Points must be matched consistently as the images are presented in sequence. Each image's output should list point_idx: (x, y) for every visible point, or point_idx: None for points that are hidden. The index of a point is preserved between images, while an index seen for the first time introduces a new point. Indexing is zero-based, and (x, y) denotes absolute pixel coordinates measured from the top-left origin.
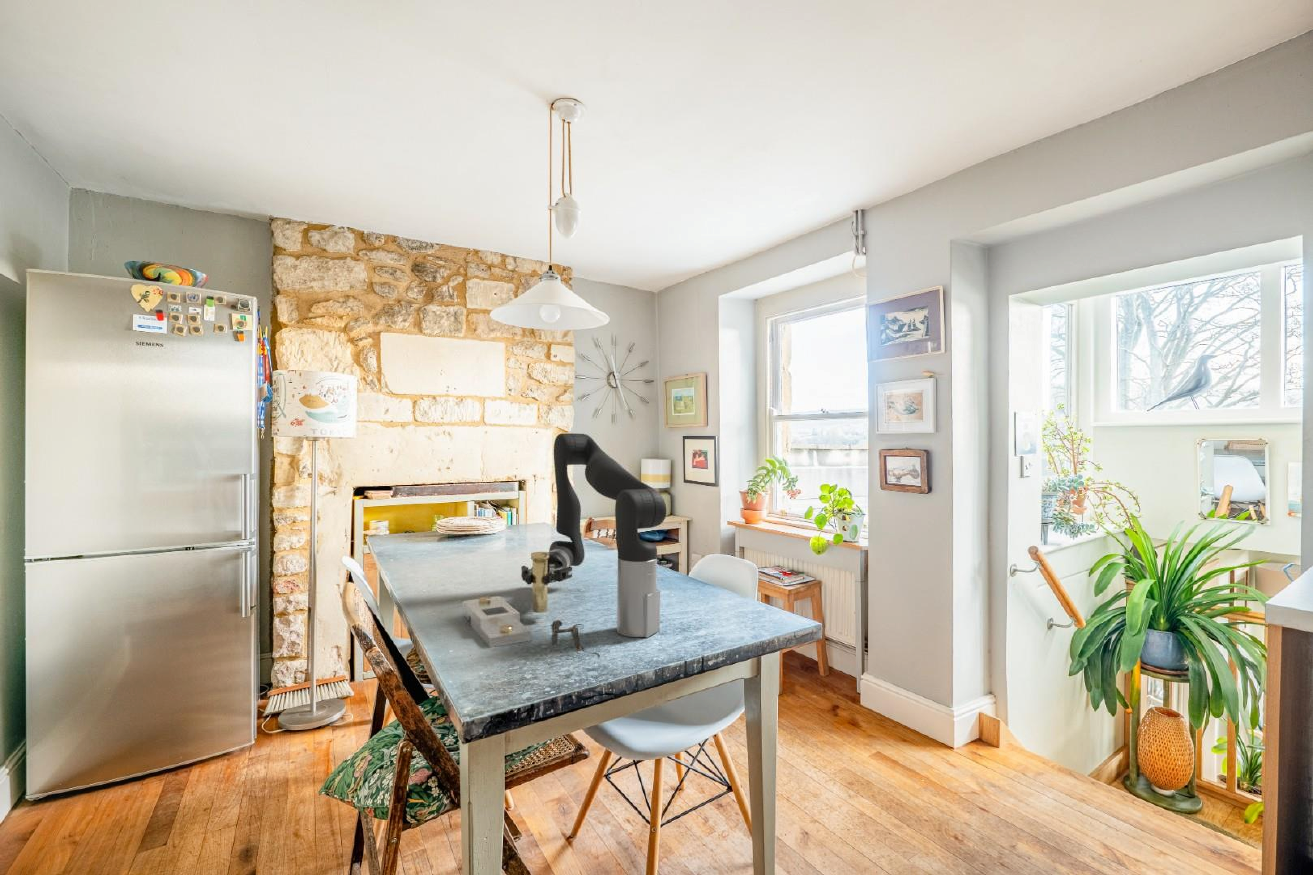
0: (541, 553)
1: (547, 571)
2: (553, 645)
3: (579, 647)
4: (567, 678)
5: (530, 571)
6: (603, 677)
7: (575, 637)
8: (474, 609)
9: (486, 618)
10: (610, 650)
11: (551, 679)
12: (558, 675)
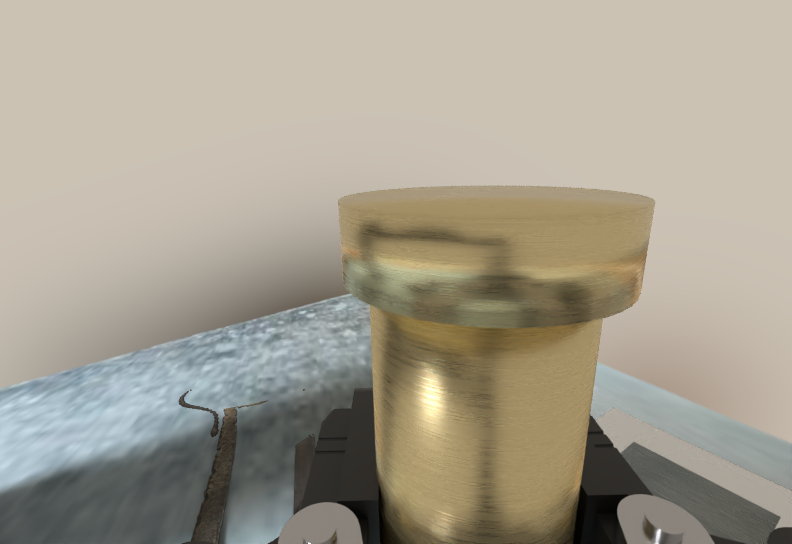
0: (461, 196)
1: (377, 462)
2: (308, 437)
3: (223, 430)
4: (277, 333)
5: (669, 516)
6: (209, 339)
7: (218, 490)
8: None
9: (601, 418)
10: (130, 425)
11: (306, 329)
12: (293, 337)
